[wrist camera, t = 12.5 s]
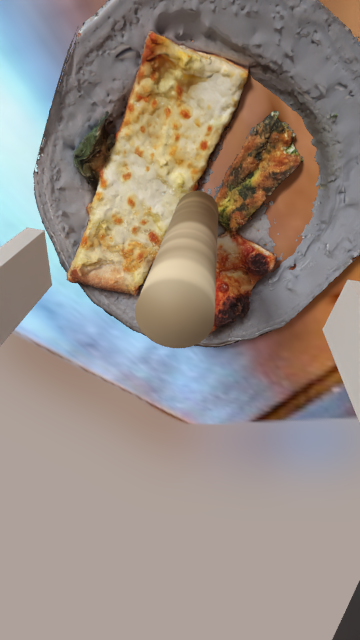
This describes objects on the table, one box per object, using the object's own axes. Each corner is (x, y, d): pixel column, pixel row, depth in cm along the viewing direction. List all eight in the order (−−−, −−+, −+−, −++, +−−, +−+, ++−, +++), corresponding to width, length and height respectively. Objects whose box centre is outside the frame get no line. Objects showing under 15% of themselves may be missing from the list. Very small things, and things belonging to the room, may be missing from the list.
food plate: (226, 368, 34) (227, 392, 32) (17, 253, 29) (-5, 270, 26) (452, 143, 21) (489, 150, 18) (146, -140, 16) (131, -193, 13)
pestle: (178, 187, 22) (137, 275, 11) (222, 194, 22) (222, 289, 11) (173, 230, 24) (133, 341, 13) (214, 236, 23) (206, 353, 13)
